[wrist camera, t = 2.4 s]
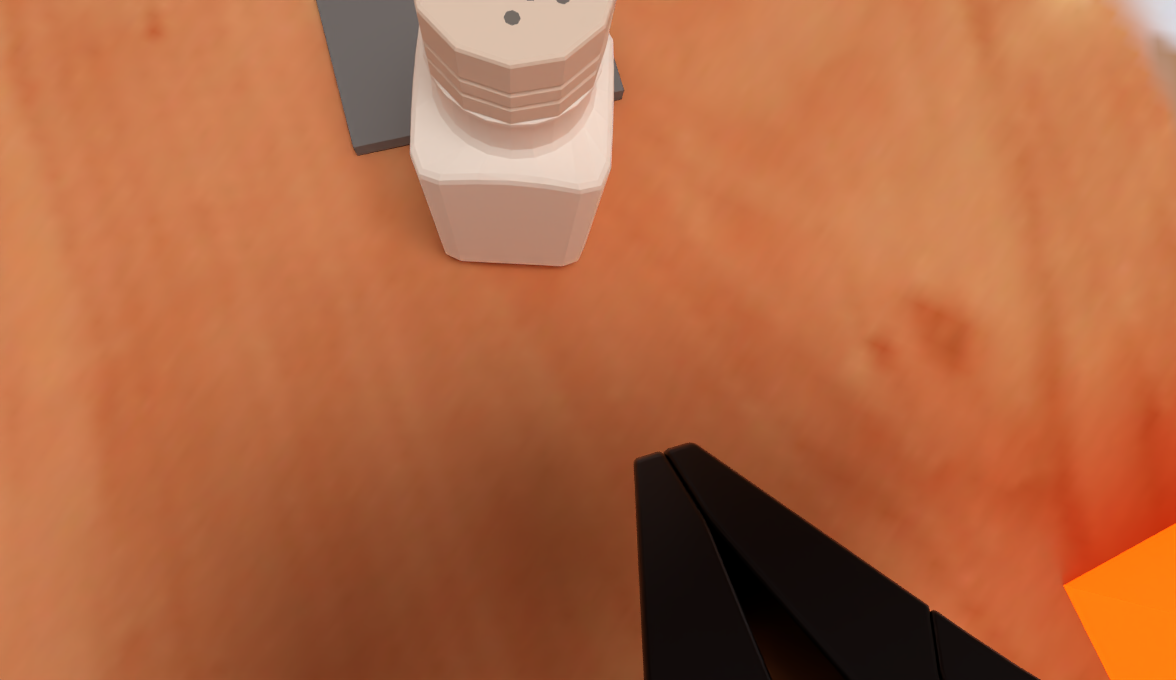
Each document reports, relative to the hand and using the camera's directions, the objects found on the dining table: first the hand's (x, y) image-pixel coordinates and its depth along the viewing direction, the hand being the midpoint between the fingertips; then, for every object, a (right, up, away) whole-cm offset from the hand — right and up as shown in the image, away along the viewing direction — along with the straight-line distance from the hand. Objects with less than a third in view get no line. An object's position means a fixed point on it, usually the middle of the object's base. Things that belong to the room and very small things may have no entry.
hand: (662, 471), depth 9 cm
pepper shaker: (-3, +6, +10) cm, 12 cm away
